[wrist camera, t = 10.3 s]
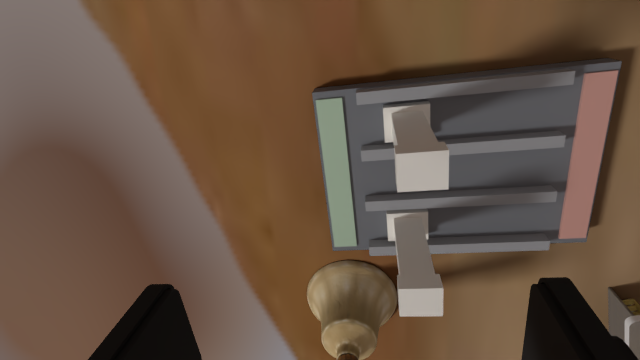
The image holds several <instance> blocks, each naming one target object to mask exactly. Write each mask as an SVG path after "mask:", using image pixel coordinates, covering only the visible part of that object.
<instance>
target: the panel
mask: <svg viewBox="0 0 640 360" xmlns="http://www.w3.org/2000/svg"><path fill="white" fill-rule="evenodd" d="M621 63H622V61H619V60H614V59H610V58H602V59H593V60H583V61H574V62H564V63H554V64H545V65H535V66H526V67H516V68H506V69H497V70H487V71H477V72H468V73H458V74H449V75H439V76H429V77H420V78H410V79H400V80H391V81H381V82H372V83H362V84H352V85H343V86H333V87H323V88H315V89H314V91H313V92H312V95H313V103H314V111H315V118H316V126H317V133H318V141H319V148H320V156H321V164H322V171H323V179H324V186H325V194H326V201H327V209H328V217H329V224H330V232H331V239H332V247H333V251H339V250H368V249H369V254H370V256H381V255H397V254H396V245H395V241H388V232H387V216H386V210H405V209H425V208H427V210H428V240H427V243H428V247H429V251H430V254H444V253H475V252H506V251H538V250H549V244H550V243H571V242H586V241H587V236H588V231H589V226H590V221H591V216H592V210H593V205H594V200H595V195H596V190H597V185H598V180H599V175H600V170H601V165H602V160H603V155H604V150H605V144H606V139H607V134H608V129H609V124H610V119H611V114H612V109H613V104H614V99H615V94H616V89H617V83H618V78H619V73H620V68H621ZM422 101H429V103H430V127H431V129H432V131H433V133H434V135H435V137H436V139H437V141H438V142H445V143H446V145H447V147H448V149H449V189H446V190H429V191H411V192H397V186H396V175H395V153H394V144H393V142H388V143H385V138H384V120H383V105H391V104H401V103H412V102H422Z"/></svg>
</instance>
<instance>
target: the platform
mask: <svg viewBox="0 0 640 360" xmlns="http://www.w3.org/2000/svg"><path fill="white" fill-rule="evenodd" d="M633 303H634V304H635V305H631V304H633ZM626 305H629V306H626ZM608 307H609V333H610V335H611V336H617V337H619V338H621V339H622V340H623V341H624V342H625V343H626V344H627V345H628V346H629V348H630V349H631V350H632V352H633V353H634V354H635V356H636V357H637V358H638V359H639V360H640V305H639V304H638V303H637V302H636V300H635V299H627V300H621V299H620V298H619V297H618V295H617V294H616V293H615V292H614V291H613V290H612V288H611V287H608ZM636 309H637V310H638V311H637V312H634V311H636Z"/></svg>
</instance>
